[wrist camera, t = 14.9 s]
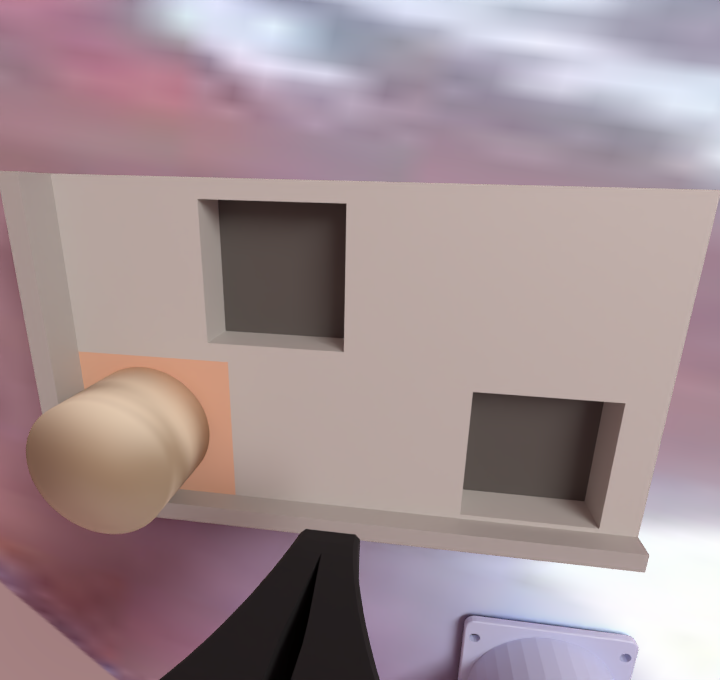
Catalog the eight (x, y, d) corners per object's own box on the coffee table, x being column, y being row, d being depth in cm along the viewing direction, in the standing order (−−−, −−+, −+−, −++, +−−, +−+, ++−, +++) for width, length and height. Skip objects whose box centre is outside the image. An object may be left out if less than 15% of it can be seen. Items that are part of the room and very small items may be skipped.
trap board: (614, 521, 21) (650, 582, 18) (112, 470, 24) (61, 514, 20) (687, 191, 17) (752, 189, 13) (69, 175, 20) (-4, 170, 16)
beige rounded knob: (205, 492, 21) (164, 548, 18) (91, 465, 21) (29, 516, 18) (214, 381, 19) (170, 420, 16) (90, 355, 20) (21, 387, 16)
